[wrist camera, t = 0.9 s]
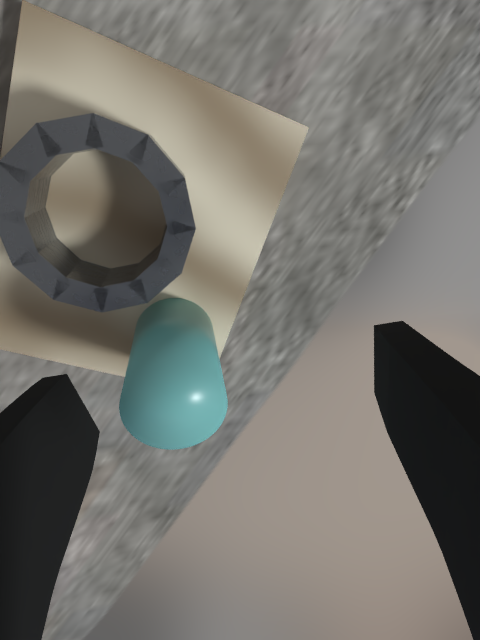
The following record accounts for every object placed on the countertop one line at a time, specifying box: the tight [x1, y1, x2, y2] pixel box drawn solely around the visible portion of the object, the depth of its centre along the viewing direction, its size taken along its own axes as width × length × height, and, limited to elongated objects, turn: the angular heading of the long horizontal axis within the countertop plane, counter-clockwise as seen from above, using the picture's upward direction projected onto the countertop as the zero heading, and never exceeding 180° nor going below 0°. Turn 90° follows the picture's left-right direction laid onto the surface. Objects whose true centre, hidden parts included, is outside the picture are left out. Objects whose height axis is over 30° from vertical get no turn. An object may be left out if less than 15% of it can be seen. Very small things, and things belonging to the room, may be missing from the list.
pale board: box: [0, 0, 309, 377], centre depth 21 cm, size 16×13×1 cm
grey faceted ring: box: [0, 113, 196, 313], centre depth 18 cm, size 8×8×3 cm
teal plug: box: [119, 298, 228, 449], centre depth 20 cm, size 4×4×7 cm
